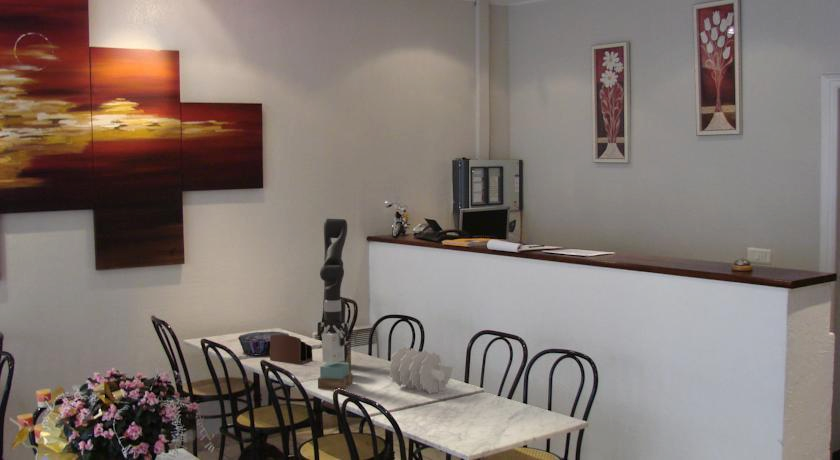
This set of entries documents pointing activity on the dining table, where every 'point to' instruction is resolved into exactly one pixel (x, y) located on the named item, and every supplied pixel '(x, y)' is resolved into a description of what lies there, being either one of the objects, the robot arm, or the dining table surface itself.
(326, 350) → the small box
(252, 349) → the decorative bowl
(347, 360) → the coffee box
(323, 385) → the tower bottom block
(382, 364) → the dining table surface
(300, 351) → the letter holder
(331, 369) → the tower top block
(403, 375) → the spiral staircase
